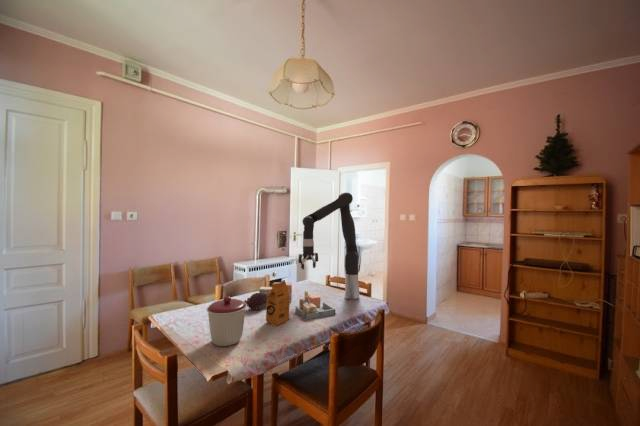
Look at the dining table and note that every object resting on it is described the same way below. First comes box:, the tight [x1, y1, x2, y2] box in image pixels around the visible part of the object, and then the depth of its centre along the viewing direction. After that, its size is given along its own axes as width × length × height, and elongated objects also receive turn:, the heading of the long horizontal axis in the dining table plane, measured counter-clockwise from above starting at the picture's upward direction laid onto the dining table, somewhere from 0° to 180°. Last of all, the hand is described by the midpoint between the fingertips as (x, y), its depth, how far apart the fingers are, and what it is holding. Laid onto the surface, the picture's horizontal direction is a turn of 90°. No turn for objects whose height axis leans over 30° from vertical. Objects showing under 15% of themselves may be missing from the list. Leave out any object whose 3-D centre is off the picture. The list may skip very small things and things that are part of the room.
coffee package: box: [265, 279, 291, 326], centre depth 153 cm, size 10×12×22 cm
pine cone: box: [243, 292, 268, 311], centre depth 172 cm, size 18×10×10 cm, turn 132°
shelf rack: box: [295, 302, 336, 321], centre depth 167 cm, size 20×14×3 cm
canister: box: [205, 295, 248, 347], centre depth 129 cm, size 18×18×21 cm
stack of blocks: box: [258, 282, 293, 304], centre depth 187 cm, size 21×6×12 cm, turn 91°
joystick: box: [303, 290, 321, 308], centre depth 184 cm, size 6×16×6 cm, turn 27°
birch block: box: [298, 298, 318, 314], centre depth 167 cm, size 6×16×6 cm, turn 28°
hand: (308, 268), depth 191 cm, fingers open, 8 cm apart
